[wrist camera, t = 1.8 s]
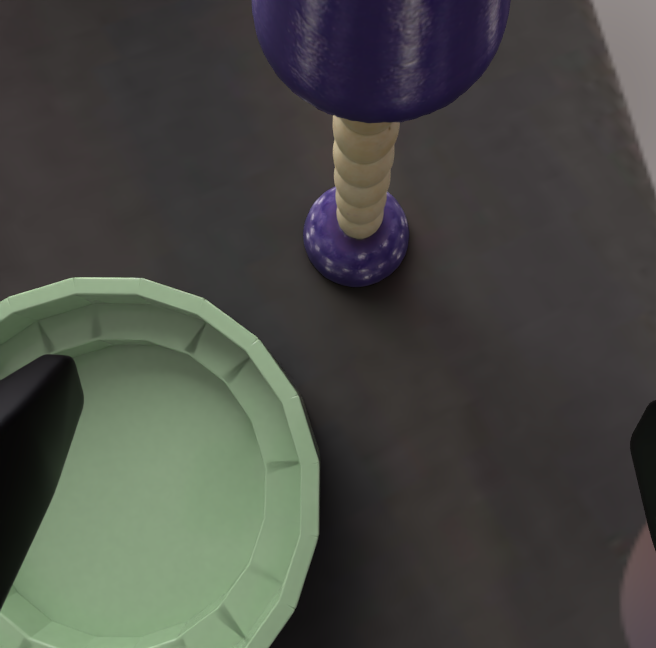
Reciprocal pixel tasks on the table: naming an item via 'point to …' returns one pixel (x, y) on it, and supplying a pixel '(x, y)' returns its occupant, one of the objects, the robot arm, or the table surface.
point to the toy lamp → (372, 104)
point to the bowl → (163, 476)
